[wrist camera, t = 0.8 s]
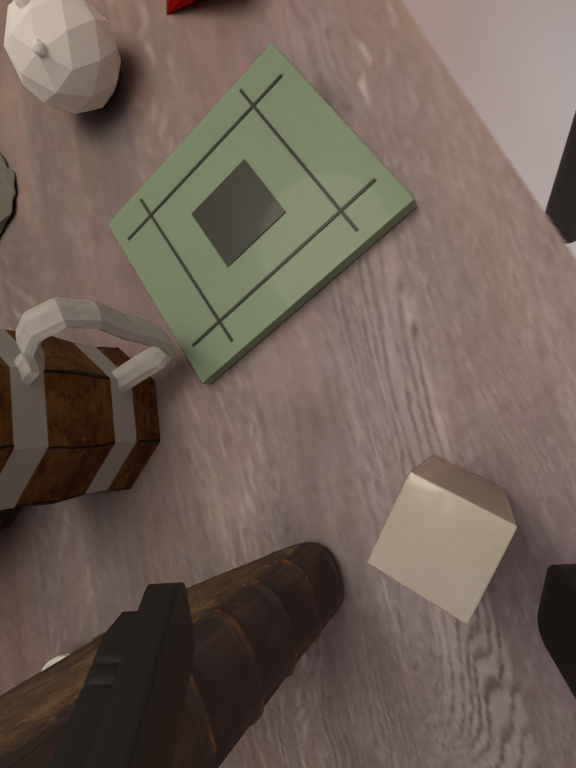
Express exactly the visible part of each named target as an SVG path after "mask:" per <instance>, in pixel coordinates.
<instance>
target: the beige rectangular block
mask: <svg viewBox="0 0 576 768" xmlns="http://www.w3.org/2000/svg"><path fill="white" fill-rule="evenodd" d="M516 530H517V524H516V521H515V518H514V515H513V512H512V509H511V506H510V503H509V500H508V497H507V494H506V491H505V489H503V488H501V487H499V486H497V485H495V484H493V483H490V482H488V481H486V480H484V479H482V478H480V477H478V476H476V475H474V474H472V473H470V472H468V471H466V470H464V469H462V468H460V467H458V466H456V465H454V464H451V463H449V462H447V461H445V460H443V459H441V458H439V457H437V456H435V455H432V456H431V457H430V458H428V459H427V460H426V461H424V462H423V463H422V464H420V465H419V466H417V467H416V468H415V469H413V470H412V471H411V472H409V474H408V476H407V478H406V481H405V483H404V485H403V487H402V489H401V491H400V493H399V495H398V497H397V499H396V502H395V504H394V506H393V508H392V510H391V512H390V514H389V516H388V518H387V521H386V523H385V525H384V527H383V529H382V531H381V533H380V535H379V537H378V539H377V542H376V544H375V546H374V548H373V550H372V552H371V554H370V556H369V558H368V563H369V564H370V565H372V566H374V567H375V568H377V569H378V570H380V571H382V572H383V573H385V574H386V575H388V576H390V577H391V578H393V579H394V580H396V581H398V582H399V583H401V584H402V585H404V586H406V587H407V588H409V589H410V590H412V591H414V592H415V593H417V594H418V595H420V596H421V597H423V598H425V599H426V600H428V601H429V602H431V603H433V604H434V605H436V606H437V607H439V608H441V609H442V610H444V611H445V612H447V613H449V614H450V615H452V616H453V617H455V618H457V619H458V620H460V621H461V622H463V623H465V624H469V622H470V620H471V618H472V616H473V614H474V612H475V610H476V608H477V606H478V604H479V602H480V600H481V598H482V596H483V594H484V593H485V591H486V589H487V587H488V585H489V583H490V581H491V579H492V577H493V575H494V573H495V571H496V569H497V567H498V565H499V563H500V561H501V559H502V557H503V555H504V553H505V551H506V549H507V547H508V546H509V544H510V542H511V540H512V538H513V536H514V534H515V532H516Z"/></svg>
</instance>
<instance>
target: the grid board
mask: <svg viewBox="0 0 576 768" xmlns="http://www.w3.org/2000/svg"><path fill="white" fill-rule="evenodd" d="M416 207H417V205H416V202H415V199H414V197H413V196H412V195H411V194H410V193H409V192H408V191H407V190H406V189H405V188H404V187H403V185H402V184H401V183H400V182H399V181H398V180H397V179H396V178H395V177H394V176H393V174H392V173H391V172H390V171H389V170H388V169H387V168H386V167H385V166H384V165H383V164H382V162H381V161H380V160H379V159H378V158H377V157H376V156H375V155H374V154H373V153H372V152H371V150H370V149H369V148H368V147H367V146H366V145H365V144H364V143H363V142H362V141H361V140H360V138H359V137H358V136H357V135H356V134H355V133H354V132H353V131H352V130H351V129H350V127H349V126H348V125H347V124H346V123H345V122H344V121H343V120H342V119H341V118H340V117H339V115H338V114H337V113H336V112H335V111H334V110H333V109H332V108H331V107H330V106H329V105H328V103H327V102H326V101H325V100H324V99H323V98H322V97H321V96H320V95H319V94H318V93H317V91H316V90H315V89H314V88H313V87H312V86H311V85H310V84H309V83H308V82H307V80H306V79H305V78H304V77H303V76H302V75H301V74H300V73H299V72H298V71H297V70H296V68H295V67H294V66H293V65H292V64H291V63H290V62H289V61H288V60H287V59H286V58H285V56H284V55H283V54H282V53H281V52H280V51H279V50H278V49H277V48H276V47H275V45H274V44H273V43H271V44H270V45H269V46H268V47H267V48H266V49H265V50H264V51H263V52H262V54H261V55H260V56H259V57H258V58H257V59H256V60H255V61H254V62H253V64H252V65H251V66H250V67H249V68H248V69H247V70H246V71H245V72H244V73H243V75H242V76H241V77H240V78H239V79H238V80H237V81H236V82H235V83H234V85H233V86H232V87H231V88H230V89H229V90H228V91H227V92H226V93H225V95H224V96H223V97H222V98H221V99H220V100H219V101H218V102H217V103H216V105H215V106H214V107H213V108H212V109H211V110H210V111H209V112H208V113H207V114H206V116H205V117H204V118H203V119H202V120H201V121H200V122H199V123H198V124H197V126H196V127H195V128H194V129H193V130H192V131H191V132H190V133H189V134H188V136H187V137H186V138H185V139H184V140H183V141H182V142H181V143H180V144H179V146H178V147H177V148H176V149H175V150H174V151H173V152H172V153H171V154H170V156H169V157H168V158H167V159H166V160H165V161H164V162H163V163H162V164H161V165H160V167H159V168H158V169H157V170H156V171H155V172H154V173H153V174H152V175H151V177H150V178H149V179H148V180H147V181H146V182H145V183H144V184H143V185H142V187H141V188H140V189H139V190H138V191H137V192H136V193H135V194H134V195H133V197H132V198H131V199H130V200H129V201H128V202H127V203H126V204H125V205H124V206H123V208H122V209H121V210H120V211H119V212H118V213H117V214H116V215H115V216H114V218H113V219H112V220H111V221H110V222H109V223H108V226H109V228H110V229H111V231H112V233H113V234H114V236H115V238H116V239H117V241H118V243H119V244H120V246H121V248H122V249H123V251H124V253H125V254H126V256H127V258H128V259H129V261H130V263H131V265H132V266H133V268H134V270H135V271H136V273H137V275H138V276H139V278H140V280H141V281H142V283H143V285H144V286H145V288H146V290H147V291H148V293H149V295H150V296H151V298H152V300H153V301H154V303H155V305H156V306H157V308H158V310H159V311H160V313H161V315H162V316H163V318H164V320H165V322H166V323H167V325H168V327H169V328H170V330H171V332H172V333H173V335H174V337H175V338H176V340H177V342H178V343H179V345H180V347H181V348H182V350H183V352H184V353H185V355H186V357H187V358H188V360H189V362H190V363H191V365H192V367H193V368H194V370H195V372H196V373H197V375H198V377H199V379H200V380H201V382H202V383H204V384H212V383H213V382H214V381H215V380H216V379H217V378H219V377H220V376H221V375H222V374H223V373H224V372H226V371H227V370H228V369H229V368H230V367H231V366H232V365H234V364H235V363H236V362H237V361H238V360H239V359H241V358H242V357H243V356H244V355H245V354H246V353H248V352H249V351H250V350H251V349H252V348H253V347H255V346H256V345H257V344H258V343H259V342H260V341H261V340H263V339H264V338H265V337H266V336H267V335H268V334H270V333H271V332H272V331H273V330H274V329H275V328H277V327H278V326H279V325H280V324H281V323H282V322H284V321H285V320H286V319H287V318H288V317H289V316H291V315H292V314H293V313H294V312H295V311H296V310H297V309H299V308H300V307H301V306H302V305H303V304H304V303H306V302H307V301H308V300H309V299H310V298H311V297H313V296H314V295H315V294H316V293H317V292H318V291H320V290H321V289H322V288H323V287H324V286H325V285H326V284H328V283H329V282H330V281H331V280H332V279H333V278H335V277H336V276H337V275H338V274H339V273H340V272H342V271H343V270H344V269H345V268H346V267H347V266H349V265H350V264H351V263H352V262H353V261H354V260H355V259H357V258H358V257H359V256H360V255H361V254H362V253H364V252H365V251H366V250H367V249H368V248H369V247H371V246H372V245H373V244H374V243H375V242H376V241H378V240H379V239H380V238H381V237H382V236H383V235H385V234H386V233H387V232H388V231H389V230H390V229H391V228H393V227H394V226H395V225H396V224H397V223H398V222H400V221H401V220H402V219H403V218H404V217H405V216H407V215H408V214H409V213H410V212H411V211H412V210H414V209H415V208H416Z"/></svg>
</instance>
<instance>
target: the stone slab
mask: <svg viewBox="0 0 576 768" xmlns="http://www.w3.org/2000/svg"><path fill="white" fill-rule="evenodd" d="M14 183H15V174H14V171H12V170H10V169H8V167H7V166H6V162H5V160H4V159H3V157H2V156H1V154H0V235H1V232H2V231H3V229H4V227H5V225H6V222H7V220H8V218H9V217H10V215H11V213H12V205H13V199H14V197H15V195H16V190H15V187H14Z"/></svg>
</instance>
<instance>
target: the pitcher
mask: <svg viewBox="0 0 576 768" xmlns="http://www.w3.org/2000/svg"><path fill="white" fill-rule="evenodd" d="M18 510H19V507H17V508H9V509H4V510H0V532H2V531H3V530H5V529H6V528H8V527H9V526H10V525H11V523H12V521H13V520H14V518H15V516H16V514H17V513H18Z"/></svg>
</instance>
